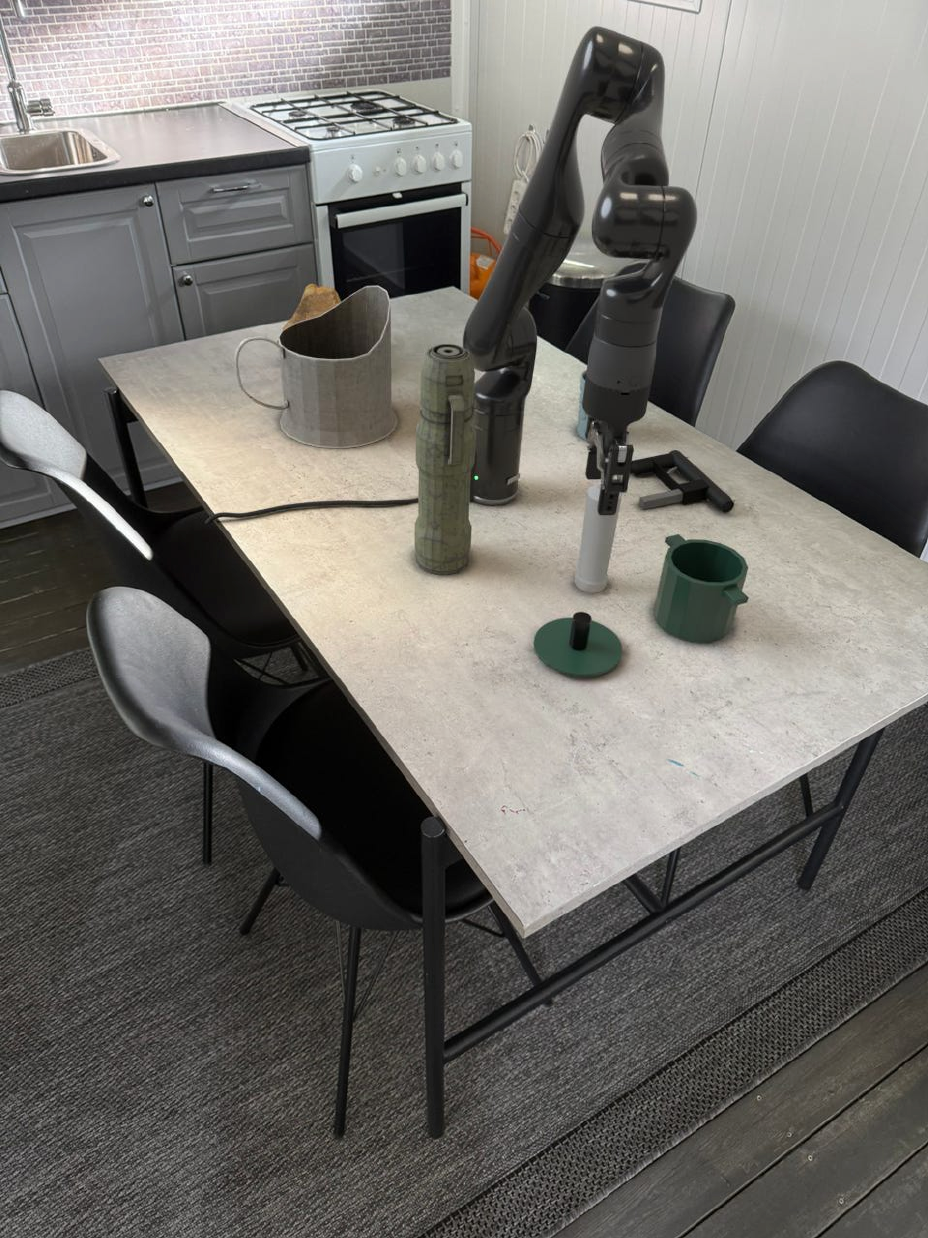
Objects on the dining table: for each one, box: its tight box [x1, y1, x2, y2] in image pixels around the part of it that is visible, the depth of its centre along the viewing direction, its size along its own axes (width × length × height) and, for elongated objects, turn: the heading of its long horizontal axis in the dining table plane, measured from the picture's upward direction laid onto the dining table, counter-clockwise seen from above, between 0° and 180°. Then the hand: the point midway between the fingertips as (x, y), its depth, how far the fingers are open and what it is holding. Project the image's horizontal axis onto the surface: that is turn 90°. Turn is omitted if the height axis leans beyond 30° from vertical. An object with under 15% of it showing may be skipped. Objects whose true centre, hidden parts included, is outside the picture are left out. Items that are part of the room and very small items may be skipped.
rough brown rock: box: [276, 283, 342, 344], centre depth 200 cm, size 23×17×15 cm
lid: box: [533, 611, 623, 678], centre depth 129 cm, size 13×13×6 cm
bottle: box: [574, 459, 623, 594], centre depth 135 cm, size 5×5×25 cm
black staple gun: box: [630, 449, 736, 514], centre depth 166 cm, size 3×20×16 cm
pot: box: [653, 533, 750, 644], centre depth 134 cm, size 12×17×10 cm
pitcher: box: [233, 285, 398, 449], centre depth 174 cm, size 23×32×25 cm
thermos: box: [414, 343, 476, 576], centre depth 136 cm, size 9×12×35 cm
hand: (599, 495), depth 114 cm, fingers open, 8 cm apart
